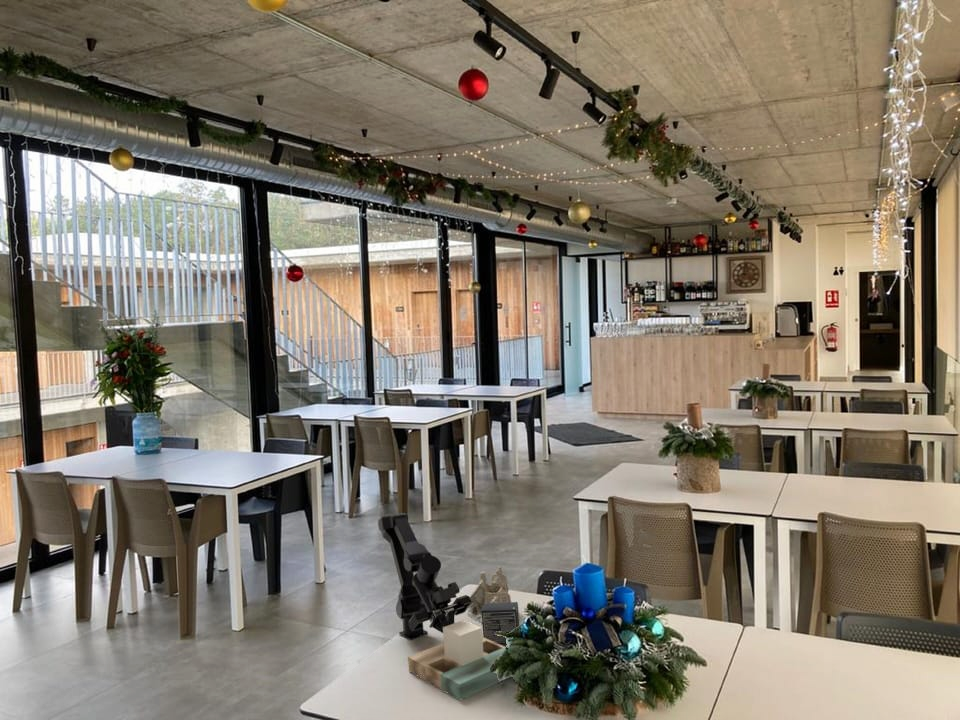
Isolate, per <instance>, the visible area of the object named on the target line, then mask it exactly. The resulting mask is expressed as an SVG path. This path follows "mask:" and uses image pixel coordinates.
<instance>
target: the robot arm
mask: <svg viewBox="0 0 960 720" xmlns="http://www.w3.org/2000/svg"><path fill="white" fill-rule="evenodd" d="M377 524H378V525H377V526H378V530H379V531H381V535H382V538H384V540H385V541H387V543H389V545H390V549H391V553H392V557H393V561H394V565H395V569H396V572H397V576H398V580H399V585H400V588H399V589H400V590H399V592H398V596H397V597H398V599H397V602H396V606H395V611H396V615H397V617H399V619H400V620H402V629H403V630H402V631H399V632H398V635H400V634H401V635H400V636H402V637H404V638H406V639H408V640H414V639H416V638H419V637H422V636H424V635H427V634H428V631H427V630H425V629H424V622H427V621H429V622H430V624H429V628H430V629H431V628H434V630H437V631H438V632H440V633H442V634H443V627H445V626H448V625H451V624H454V623H456V621H455V617H456V616H459V615H462V614H464V613H466V612H467V611H468V607H469V606H470V605H471V603H472V600H471V599H470V596H469V595H466V594H465V595H461V596H459V597H457V594H460V591H461V590H460V586H459V585H458V584H457V582H456V581H453V582H450V583H448V584H447V587H445V588H444V587H443V586H442V585H440V586H438V583H437V581H436V580H437V579H438V576H439V573H440V571H441V568H442V564H441V563H442V562H441V561H440V559H439V558H438V557H437V556H434V555H432V554H431V552H430V551H428V549H427V547H426V545H424V544H422V543H419V541H418V540H417V537H416V535H415V532H414V530H413V529H412V527H411V525H410V522H409V516H408V514H407V513H405V512H402V513H401V512H397V513H390V514H384V515H383V514H382V515H381V516H380V519H378V521H377ZM414 573H415V575H414ZM454 598H455V600H454V601H453V602H452V599H454ZM451 602H452V603H451ZM450 603H451V604H450Z"/></svg>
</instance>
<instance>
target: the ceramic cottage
mask: <svg viewBox="0 0 960 720" xmlns="http://www.w3.org/2000/svg"><path fill="white" fill-rule="evenodd" d="M507 580H508V579H507V574H504V573H503V570H502V566H501V565H499V566H498V569H496V572H494V573H491V580H490V581H491V583H490V584H489V583H487V574H486V572H485V571H481V572H480V581H479V583H478V585H477V586H476V587H475V589H474V590H473V591H472V592H471V594H470V596H469V597H470V599H471V600H472V603H471V605H470V606H469V607H468V609H467V616H468V615H469V616H470V618H471V617H472V618H473V619H472V618H471V619H472V620H474V619H475V620H474V621H475V622H477V621H478V622H479V623H478V622H477V623H478V624H480V623H481V624H480V625H482V613H481V609H482V605H483V603H507V602H512V600H511V596H510V594H509V587H508V581H507ZM469 616H468V617H469Z"/></svg>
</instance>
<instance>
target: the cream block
mask: <svg viewBox="0 0 960 720" xmlns="http://www.w3.org/2000/svg"><path fill="white" fill-rule="evenodd" d="M442 634H443V635H442V636H443V637H442V638H443V643H444V651H445V657H447V658H448V659H450V660H452V661H454V662H456V663H458V664H460V665H462V666H463V665H466V664H468V663H471V662H473V661H476V660H478V659H481V658H483V657H484V655H483V641H482V637H483V627H480V626H478V625H476V624H474V623H471V622H470V621H468V620H465V619H462V620H460V621H457V622H456V621H455V623H454V624H451V625H448V626H445V627H443V633H442Z"/></svg>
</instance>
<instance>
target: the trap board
mask: <svg viewBox="0 0 960 720" xmlns="http://www.w3.org/2000/svg"><path fill="white" fill-rule="evenodd" d="M482 641H483V655H484V657H483V658H481V659H478V660H476V661H473V662H471V663H468V664H466V665H463V666H462V665H460V664H458V663H456V662H454V661H452V660H450V659H448V658H447V657H445V651H444V642H442V643H440V644H437V645H435V646H432V647H430V648H428V649H424V650H422V651H419V652H417V653H414V654H412V655H410V656H407V662H408V665H407V666H408V672H409V671H410V672H409V673H411V672H412V673H411V674H413V675H414V676H416V675H418V676H419V677H418V676H417V677H418V678H420V677H421V678H420V679H422V678H423V679H425V680H426V682H427V681H428V682H427V683H429V682H430V683H429V684H431V683H432V684H434V685H435V686H434V685H433V686H434V687H436V686H437V687H436V688H438V687H439V688H438V689H439V690H441V689H442V691H443V690H444V691H443V692H445V691H446V692H445V693H447V692H448V693H447V694H449V695H450V694H451V695H450V696H452V695H453V696H452V697H454V696H455V697H454V698H456V697H457V698H456V699H458V700H459V699H460V701H462V700H465V699H466V697H467V698H468V696H469V697H470V696H471V697H472V695H475V694H477V693H479V692H481V691H484V690H486V689H488V688H490V687H492V686H495V685H497V684H499V683H500V682H499V680H498V678H497V674H496V673H492V672H491V671H490V667H491V665H492V664H493V662H494V661H495V660H496V659H497V658H498V657H499V656H500V655H501V654H502V652H503V651H504V650H505V648H506V647H507V646H506V645H500V644H498V643H496V642H493V641H491V640H489V639H486V638H484V637H483V636H482ZM423 679H422V680H423ZM425 680H424V681H425ZM498 682H499V683H498ZM432 684H431V685H432ZM461 699H462V700H461Z"/></svg>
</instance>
